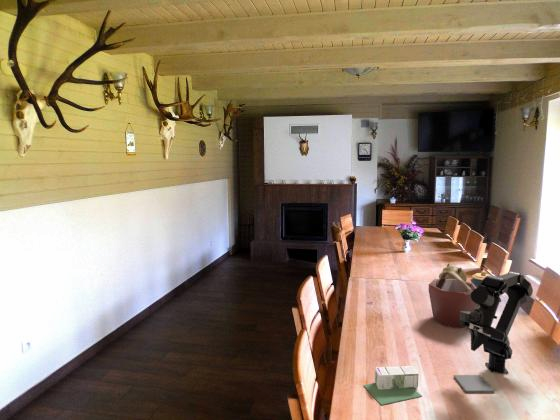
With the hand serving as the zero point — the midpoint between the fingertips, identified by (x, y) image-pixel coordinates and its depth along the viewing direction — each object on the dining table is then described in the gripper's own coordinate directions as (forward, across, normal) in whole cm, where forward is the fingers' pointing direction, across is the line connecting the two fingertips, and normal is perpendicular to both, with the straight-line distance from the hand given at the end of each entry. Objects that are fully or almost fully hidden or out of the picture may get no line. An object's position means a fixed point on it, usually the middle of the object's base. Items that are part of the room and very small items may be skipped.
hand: (472, 350), depth 143 cm
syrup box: (+17, -4, -14) cm, 22 cm away
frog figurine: (-33, -112, +49) cm, 126 cm away
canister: (-26, -78, +50) cm, 96 cm away
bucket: (-8, -55, +22) cm, 60 cm away
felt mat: (+24, -2, -22) cm, 33 cm away
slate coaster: (+11, -2, +6) cm, 13 cm away
